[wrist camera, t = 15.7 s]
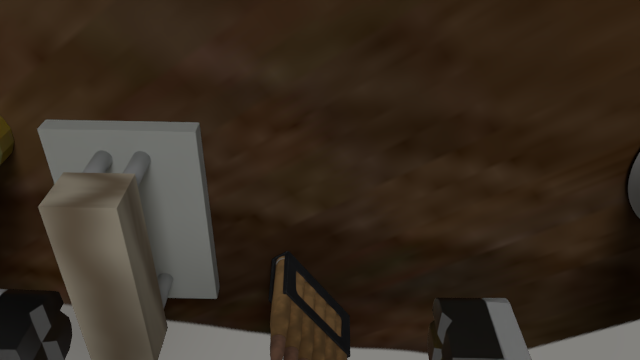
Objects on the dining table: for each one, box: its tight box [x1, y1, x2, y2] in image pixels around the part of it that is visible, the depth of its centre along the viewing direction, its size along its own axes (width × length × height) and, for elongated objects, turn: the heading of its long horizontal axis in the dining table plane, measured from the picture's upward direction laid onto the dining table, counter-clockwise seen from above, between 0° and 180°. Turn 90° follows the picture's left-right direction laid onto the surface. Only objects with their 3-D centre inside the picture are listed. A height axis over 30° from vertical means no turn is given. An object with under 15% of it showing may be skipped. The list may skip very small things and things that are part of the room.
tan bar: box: [38, 172, 168, 360], centre depth 40 cm, size 5×16×4 cm, turn 179°
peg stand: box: [37, 120, 220, 308], centre depth 45 cm, size 12×18×6 cm, turn 179°
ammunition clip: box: [269, 251, 350, 360], centre depth 47 cm, size 11×2×12 cm, turn 34°
